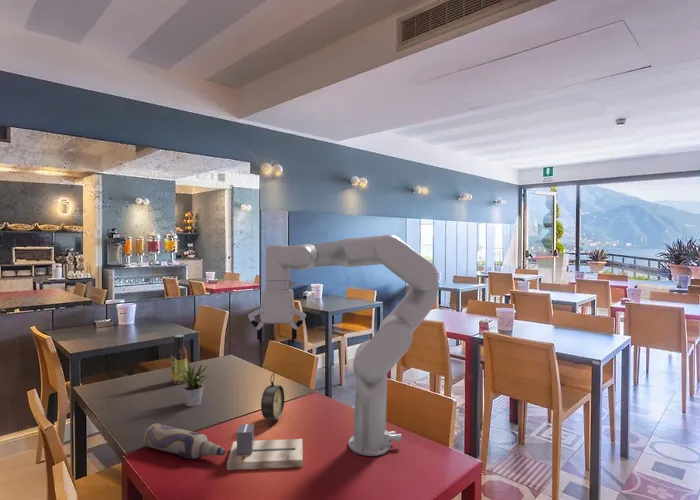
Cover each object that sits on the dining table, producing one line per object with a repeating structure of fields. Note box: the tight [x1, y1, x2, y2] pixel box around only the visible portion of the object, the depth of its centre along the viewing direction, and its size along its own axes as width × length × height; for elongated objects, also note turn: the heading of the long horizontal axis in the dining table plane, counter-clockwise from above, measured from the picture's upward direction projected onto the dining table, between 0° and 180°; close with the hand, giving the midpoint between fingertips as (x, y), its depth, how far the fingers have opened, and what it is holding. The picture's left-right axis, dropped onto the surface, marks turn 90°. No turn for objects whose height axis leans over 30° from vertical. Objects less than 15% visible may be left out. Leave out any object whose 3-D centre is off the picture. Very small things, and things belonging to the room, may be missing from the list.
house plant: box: [175, 360, 213, 407], centre depth 160 cm, size 14×14×16 cm
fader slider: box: [236, 423, 255, 454], centre depth 122 cm, size 4×5×6 cm
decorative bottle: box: [142, 422, 226, 460], centre depth 124 cm, size 26×8×7 cm, turn 69°
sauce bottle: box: [170, 334, 188, 385], centre depth 182 cm, size 7×6×20 cm
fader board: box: [226, 438, 304, 471], centre depth 123 cm, size 20×12×2 cm, turn 97°
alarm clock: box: [260, 372, 285, 428], centre depth 146 cm, size 11×5×16 cm, turn 168°
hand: (277, 341), depth 132 cm, fingers open, 9 cm apart
